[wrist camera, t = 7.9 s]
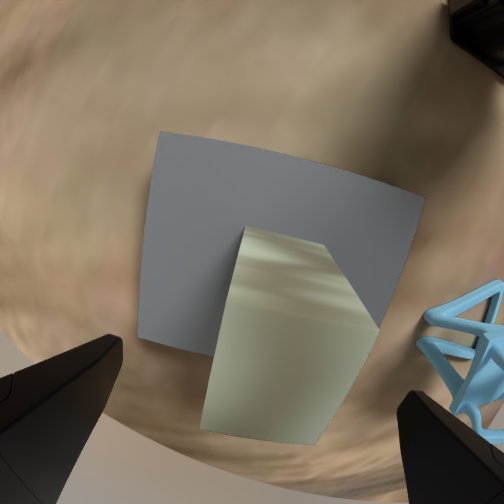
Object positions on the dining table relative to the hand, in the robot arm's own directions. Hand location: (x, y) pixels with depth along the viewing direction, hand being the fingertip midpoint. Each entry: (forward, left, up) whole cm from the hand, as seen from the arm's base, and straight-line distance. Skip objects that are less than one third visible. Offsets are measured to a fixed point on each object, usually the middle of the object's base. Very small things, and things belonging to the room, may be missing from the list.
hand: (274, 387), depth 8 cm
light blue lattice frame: (-17, +2, -12) cm, 21 cm away
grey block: (0, 0, -12) cm, 12 cm away
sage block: (0, 0, -8) cm, 8 cm away
